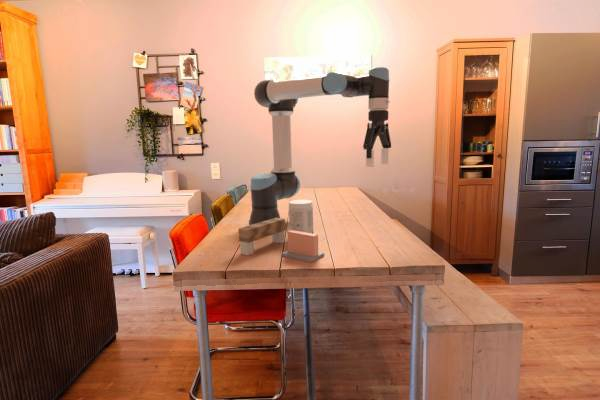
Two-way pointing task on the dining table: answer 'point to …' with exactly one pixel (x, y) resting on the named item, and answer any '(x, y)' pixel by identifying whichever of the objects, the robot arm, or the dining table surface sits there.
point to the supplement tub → (301, 216)
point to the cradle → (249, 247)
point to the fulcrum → (302, 246)
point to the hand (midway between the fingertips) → (377, 165)
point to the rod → (261, 230)
